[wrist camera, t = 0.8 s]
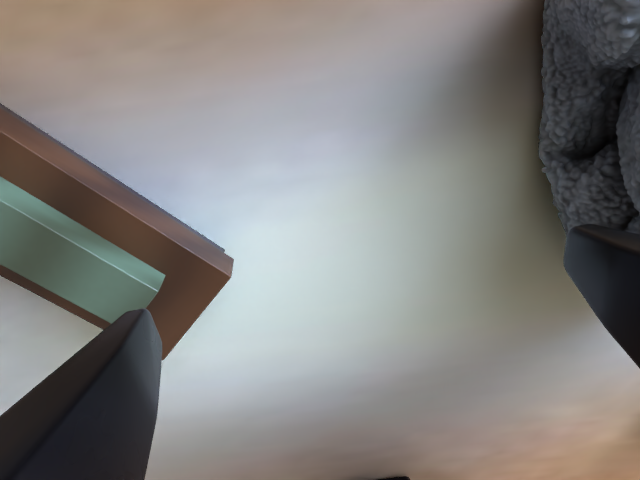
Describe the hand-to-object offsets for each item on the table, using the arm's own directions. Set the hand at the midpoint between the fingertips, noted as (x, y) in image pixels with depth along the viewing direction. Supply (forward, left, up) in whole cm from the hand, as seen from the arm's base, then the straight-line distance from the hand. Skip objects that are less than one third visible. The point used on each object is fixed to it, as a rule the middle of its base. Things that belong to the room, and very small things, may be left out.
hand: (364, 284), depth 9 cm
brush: (-3, +11, -15) cm, 19 cm away
